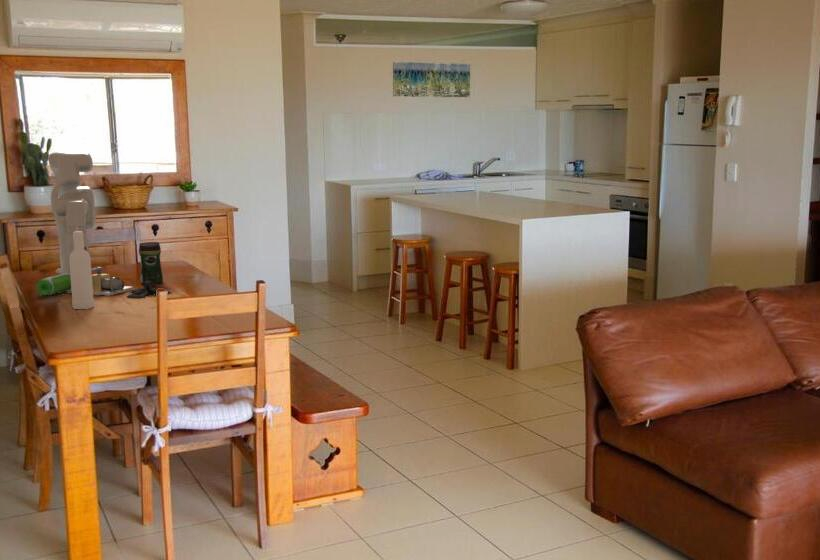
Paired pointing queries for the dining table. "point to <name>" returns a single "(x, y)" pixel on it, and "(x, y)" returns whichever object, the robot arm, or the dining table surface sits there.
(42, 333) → the dining table surface
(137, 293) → the cloth
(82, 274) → the bottle
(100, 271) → the lever
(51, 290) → the speaker
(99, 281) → the valve pipe
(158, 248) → the coffee jar
